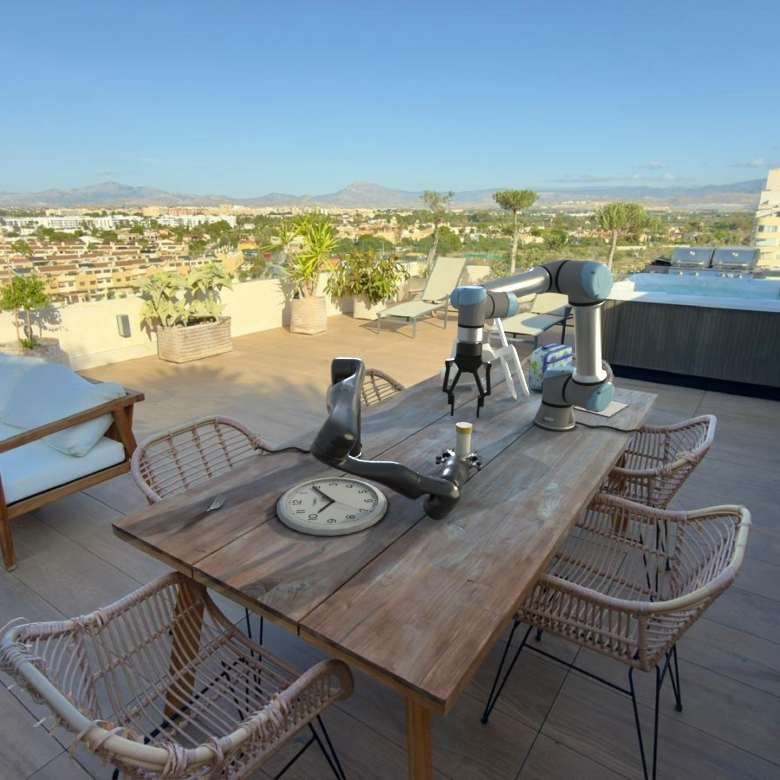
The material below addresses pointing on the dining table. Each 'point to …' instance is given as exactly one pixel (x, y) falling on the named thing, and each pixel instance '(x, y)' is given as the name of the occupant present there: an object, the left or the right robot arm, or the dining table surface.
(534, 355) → the lunch box
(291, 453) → the dining table surface
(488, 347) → the white plastic object
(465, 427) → the lid
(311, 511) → the wall clock
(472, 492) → the dining table surface
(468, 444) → the white cylinder
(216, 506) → the fork
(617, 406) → the invitation card
